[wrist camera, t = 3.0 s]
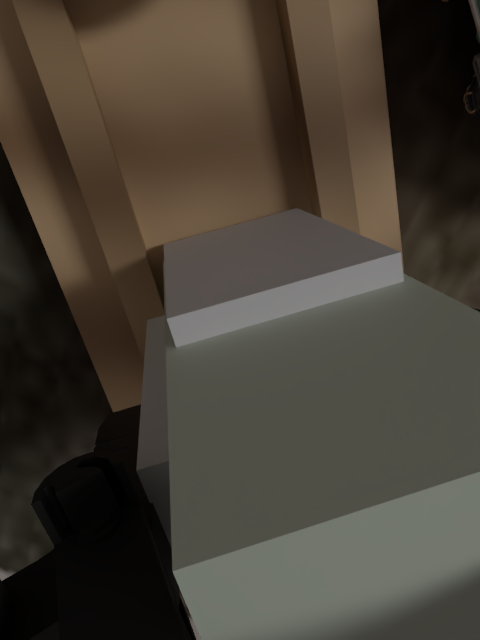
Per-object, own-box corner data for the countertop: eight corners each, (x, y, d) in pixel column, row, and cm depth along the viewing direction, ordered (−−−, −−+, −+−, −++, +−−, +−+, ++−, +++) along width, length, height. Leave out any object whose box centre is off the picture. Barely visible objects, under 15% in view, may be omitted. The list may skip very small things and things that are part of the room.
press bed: (-147, -250, 11) (-627, -876, 4) (321, -339, 12) (535, -982, 5) (125, 418, 19) (106, 569, 12) (397, 337, 19) (521, 436, 13)
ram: (157, 244, 15) (152, 523, 4) (300, 205, 15) (680, 355, 4) (197, 373, 17) (273, 806, 6) (324, 336, 17) (626, 677, 6)
